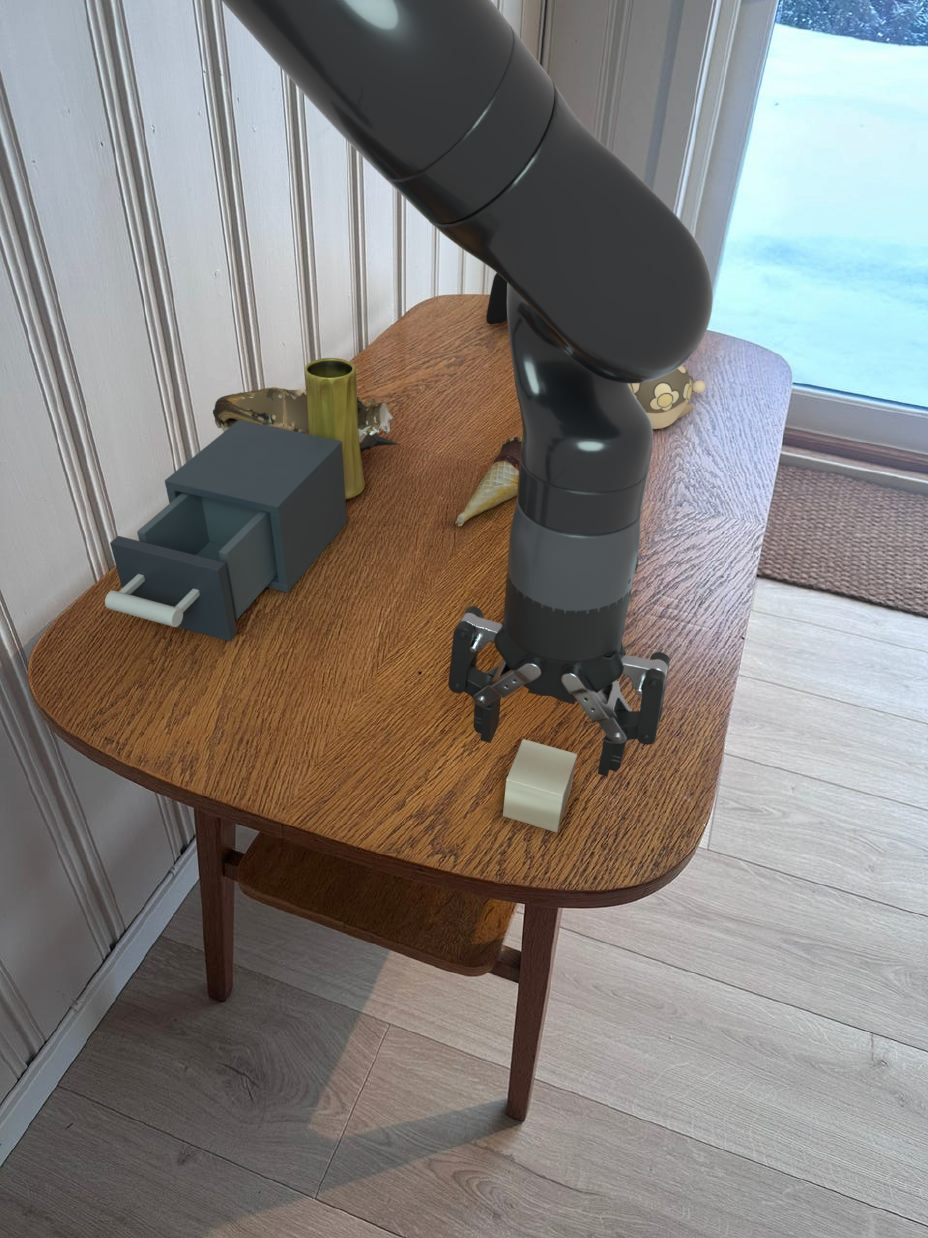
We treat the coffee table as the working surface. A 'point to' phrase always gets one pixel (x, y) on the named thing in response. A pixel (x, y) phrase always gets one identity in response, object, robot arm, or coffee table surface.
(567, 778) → the block
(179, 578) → the drawer
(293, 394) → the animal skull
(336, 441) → the cabinet
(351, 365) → the vase
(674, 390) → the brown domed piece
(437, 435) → the coffee table surface
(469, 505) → the ice cream cone
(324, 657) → the coffee table surface
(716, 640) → the coffee table surface
